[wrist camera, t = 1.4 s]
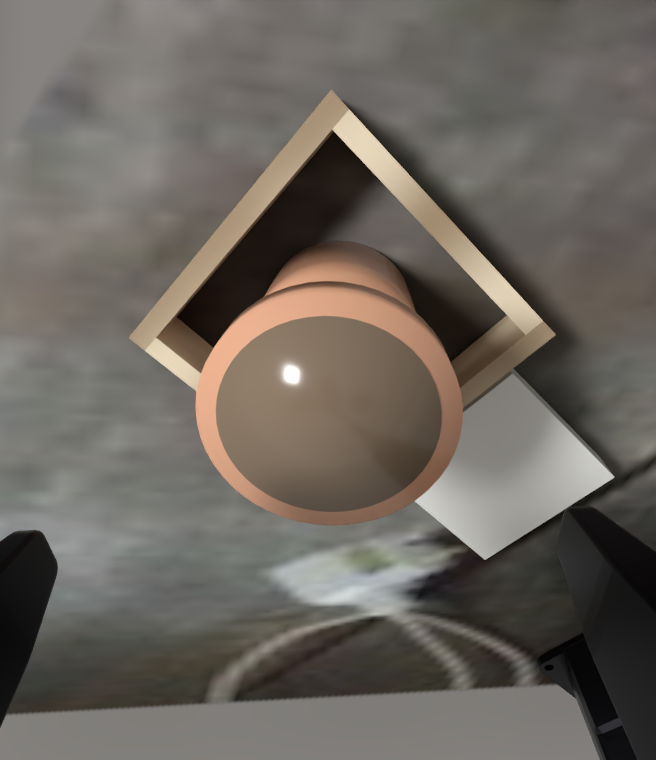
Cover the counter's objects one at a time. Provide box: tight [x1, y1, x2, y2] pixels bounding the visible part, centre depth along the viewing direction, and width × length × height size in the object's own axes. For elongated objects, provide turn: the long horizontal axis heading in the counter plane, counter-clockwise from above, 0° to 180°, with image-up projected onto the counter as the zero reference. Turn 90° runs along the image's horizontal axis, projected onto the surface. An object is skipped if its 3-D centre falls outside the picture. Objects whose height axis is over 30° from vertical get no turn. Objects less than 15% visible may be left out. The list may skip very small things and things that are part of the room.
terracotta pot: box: [196, 241, 463, 525], centre depth 16 cm, size 6×6×8 cm
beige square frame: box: [129, 90, 556, 408], centre depth 18 cm, size 10×10×2 cm
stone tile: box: [415, 369, 614, 560], centre depth 21 cm, size 6×6×2 cm
